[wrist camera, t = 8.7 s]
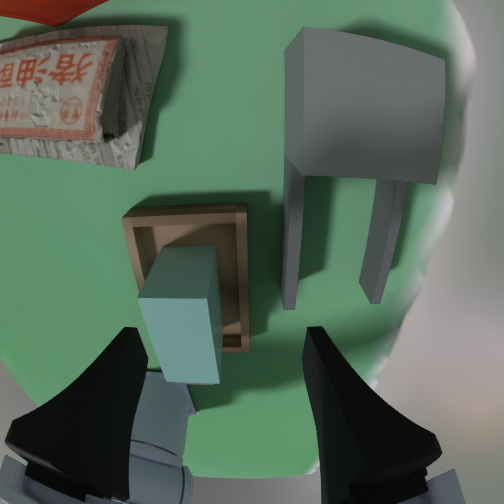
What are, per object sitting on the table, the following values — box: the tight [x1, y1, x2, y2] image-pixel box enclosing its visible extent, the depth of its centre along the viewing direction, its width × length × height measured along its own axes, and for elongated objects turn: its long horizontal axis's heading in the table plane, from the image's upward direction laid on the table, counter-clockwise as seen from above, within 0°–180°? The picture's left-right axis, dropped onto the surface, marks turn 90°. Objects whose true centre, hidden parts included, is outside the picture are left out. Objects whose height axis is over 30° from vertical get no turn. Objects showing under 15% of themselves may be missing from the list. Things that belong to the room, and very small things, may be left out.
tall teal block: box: [137, 245, 224, 385], centre depth 20 cm, size 9×4×6 cm, turn 1°
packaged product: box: [0, 25, 169, 170], centre depth 13 cm, size 18×5×10 cm
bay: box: [280, 27, 445, 310], centre depth 16 cm, size 17×8×6 cm, turn 1°
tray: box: [122, 203, 250, 353], centre depth 22 cm, size 13×8×2 cm, turn 1°
